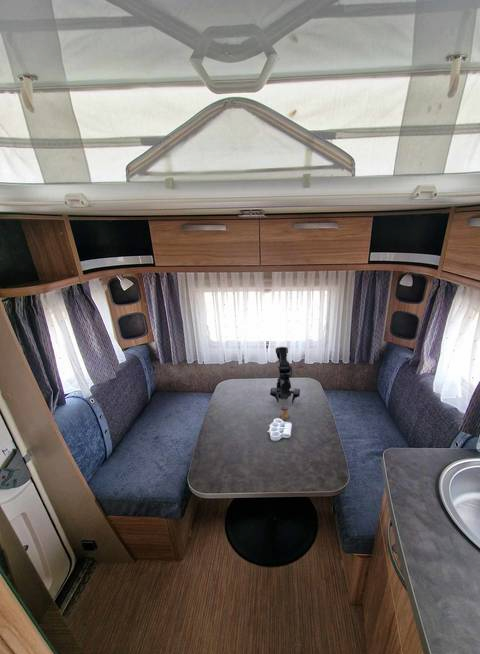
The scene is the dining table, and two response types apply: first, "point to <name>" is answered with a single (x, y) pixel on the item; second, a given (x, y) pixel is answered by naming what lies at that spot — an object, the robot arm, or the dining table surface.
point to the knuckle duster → (279, 429)
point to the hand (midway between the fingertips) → (285, 403)
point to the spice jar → (284, 412)
